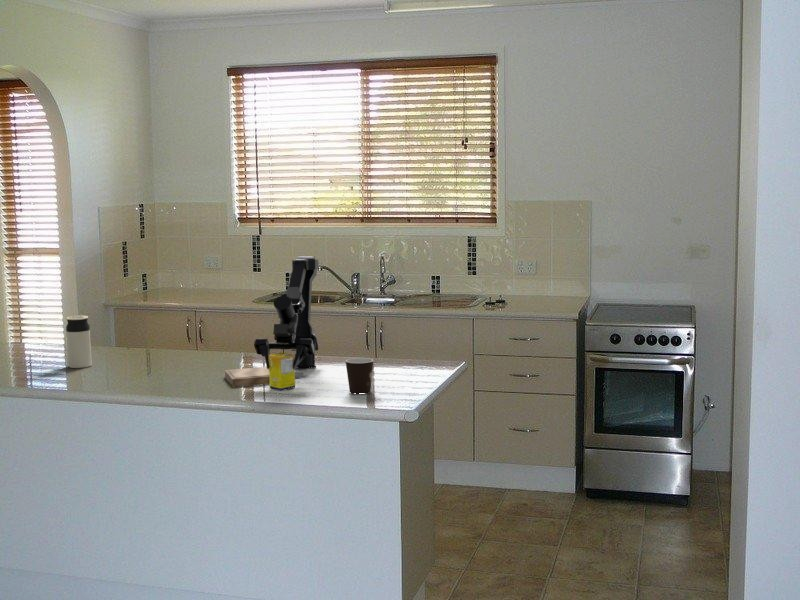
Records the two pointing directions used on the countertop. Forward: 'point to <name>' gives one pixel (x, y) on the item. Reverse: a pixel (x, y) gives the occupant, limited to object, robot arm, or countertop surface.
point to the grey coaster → (299, 374)
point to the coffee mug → (359, 374)
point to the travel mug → (78, 342)
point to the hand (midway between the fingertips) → (280, 368)
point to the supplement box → (281, 371)
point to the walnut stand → (248, 376)
